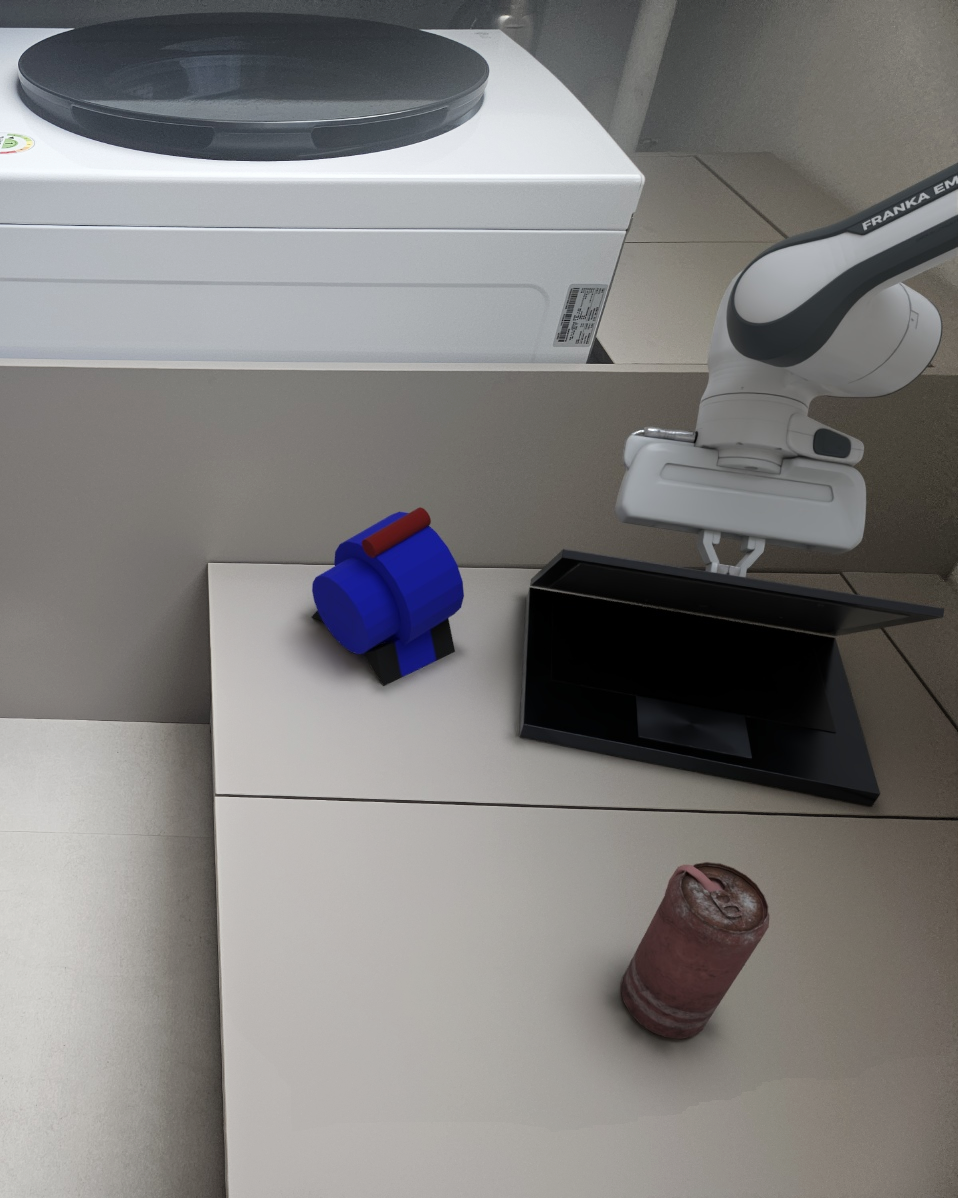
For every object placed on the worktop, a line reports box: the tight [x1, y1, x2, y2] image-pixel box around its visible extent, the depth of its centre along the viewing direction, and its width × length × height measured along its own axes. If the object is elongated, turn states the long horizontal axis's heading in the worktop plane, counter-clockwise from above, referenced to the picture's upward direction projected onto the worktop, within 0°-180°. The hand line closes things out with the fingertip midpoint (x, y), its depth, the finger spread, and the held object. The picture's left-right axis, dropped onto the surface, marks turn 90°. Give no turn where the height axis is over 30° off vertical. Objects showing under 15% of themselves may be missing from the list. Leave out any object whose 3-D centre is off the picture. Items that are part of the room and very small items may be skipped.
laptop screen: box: [529, 548, 945, 637], centre depth 99 cm, size 21×30×1 cm
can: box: [620, 861, 770, 1040], centre depth 73 cm, size 6×6×14 cm
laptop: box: [519, 586, 881, 807], centre depth 102 cm, size 21×30×2 cm
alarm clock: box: [311, 507, 465, 687], centre depth 105 cm, size 12×12×15 cm
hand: (723, 585), depth 95 cm, fingers closed, pressing on laptop screen
